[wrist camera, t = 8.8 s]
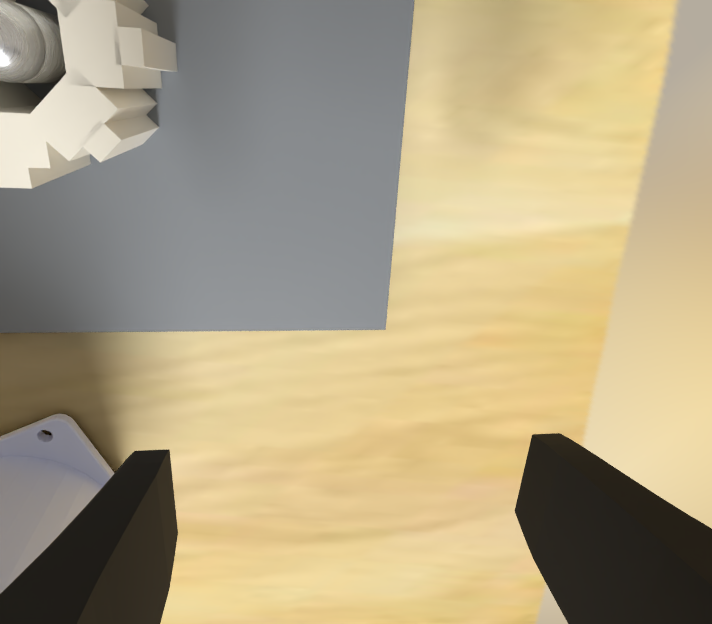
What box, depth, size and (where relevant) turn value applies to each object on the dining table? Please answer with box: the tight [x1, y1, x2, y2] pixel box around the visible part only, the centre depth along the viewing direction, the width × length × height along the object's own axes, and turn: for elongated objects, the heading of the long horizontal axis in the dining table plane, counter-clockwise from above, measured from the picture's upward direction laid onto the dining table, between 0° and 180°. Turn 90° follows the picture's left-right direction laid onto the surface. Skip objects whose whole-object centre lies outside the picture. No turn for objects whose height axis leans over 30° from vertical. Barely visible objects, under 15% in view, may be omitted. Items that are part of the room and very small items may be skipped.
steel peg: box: [0, 0, 66, 84], centre depth 12 cm, size 2×2×4 cm
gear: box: [0, 0, 178, 189], centre depth 12 cm, size 6×6×4 cm
